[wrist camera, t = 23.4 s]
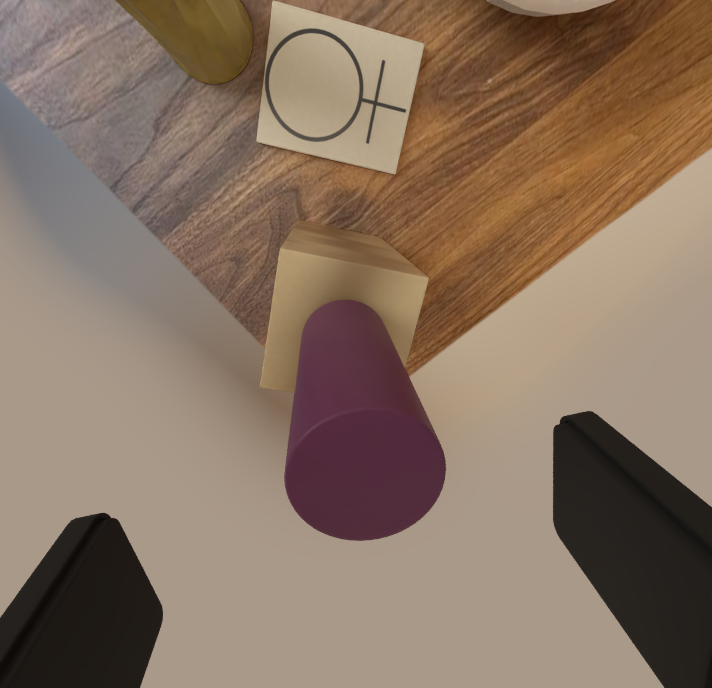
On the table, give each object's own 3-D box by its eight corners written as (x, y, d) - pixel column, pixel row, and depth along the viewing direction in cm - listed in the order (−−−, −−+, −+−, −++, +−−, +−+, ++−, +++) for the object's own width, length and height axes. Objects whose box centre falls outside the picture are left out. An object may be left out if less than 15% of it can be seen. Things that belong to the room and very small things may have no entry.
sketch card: (257, 142, 32) (256, 141, 31) (273, 3, 29) (272, -1, 28) (394, 174, 34) (395, 174, 33) (423, 46, 31) (425, 42, 30)
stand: (285, 300, 36) (259, 387, 21) (298, 219, 34) (279, 248, 18) (363, 314, 38) (394, 407, 22) (380, 236, 35) (429, 277, 19)
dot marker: (295, 365, 20) (273, 534, 10) (309, 287, 19) (298, 395, 9) (374, 378, 21) (423, 549, 11) (393, 303, 20) (467, 421, 10)
